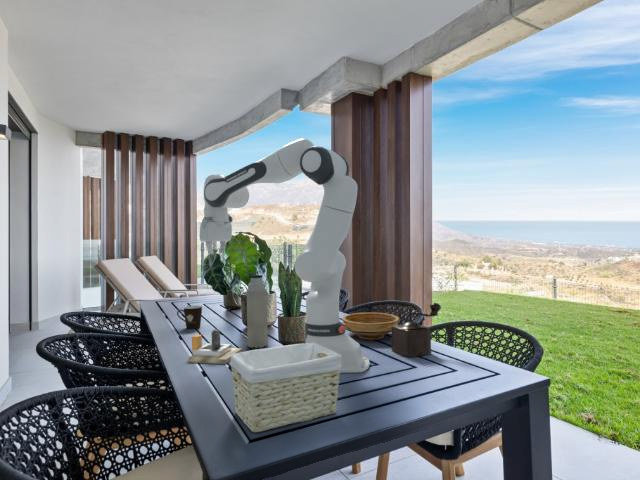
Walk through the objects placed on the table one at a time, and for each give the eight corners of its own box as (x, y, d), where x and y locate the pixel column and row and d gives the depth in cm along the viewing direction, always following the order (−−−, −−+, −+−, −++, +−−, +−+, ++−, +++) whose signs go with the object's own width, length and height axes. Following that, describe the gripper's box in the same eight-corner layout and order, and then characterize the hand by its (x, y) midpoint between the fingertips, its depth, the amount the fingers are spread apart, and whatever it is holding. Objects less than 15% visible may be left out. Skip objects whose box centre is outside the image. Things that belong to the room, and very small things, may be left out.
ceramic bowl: (326, 334, 181) (326, 316, 181) (367, 326, 196) (366, 309, 195) (375, 348, 157) (374, 327, 157) (416, 338, 172) (416, 318, 172)
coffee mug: (206, 326, 200) (206, 306, 200) (192, 330, 193) (191, 309, 193) (190, 324, 207) (189, 304, 207) (175, 327, 199) (175, 307, 199)
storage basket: (314, 393, 114) (313, 339, 114) (345, 415, 100) (344, 354, 99) (228, 412, 102) (227, 352, 102) (250, 440, 88) (249, 371, 88)
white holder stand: (231, 349, 154) (231, 333, 153) (219, 357, 144) (218, 340, 144) (200, 348, 156) (200, 332, 156) (186, 355, 146) (186, 338, 146)
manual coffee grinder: (410, 358, 143) (409, 307, 143) (390, 351, 153) (390, 302, 153) (444, 352, 150) (443, 303, 150) (423, 345, 160) (422, 299, 160)
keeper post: (242, 352, 155) (241, 325, 155) (225, 363, 141) (225, 334, 141) (207, 350, 158) (207, 324, 158) (188, 361, 144) (187, 333, 144)
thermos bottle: (265, 341, 170) (263, 273, 170) (270, 346, 163) (268, 275, 163) (245, 343, 167) (244, 274, 167) (250, 348, 160) (248, 276, 160)
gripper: (210, 216, 149) (211, 254, 149) (234, 218, 169) (235, 252, 169) (194, 216, 150) (195, 254, 150) (220, 218, 170) (220, 252, 170)
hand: (216, 253), depth 160 cm, fingers open, 8 cm apart
